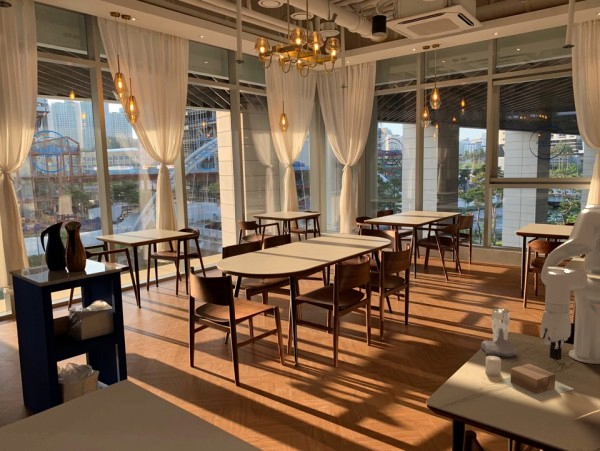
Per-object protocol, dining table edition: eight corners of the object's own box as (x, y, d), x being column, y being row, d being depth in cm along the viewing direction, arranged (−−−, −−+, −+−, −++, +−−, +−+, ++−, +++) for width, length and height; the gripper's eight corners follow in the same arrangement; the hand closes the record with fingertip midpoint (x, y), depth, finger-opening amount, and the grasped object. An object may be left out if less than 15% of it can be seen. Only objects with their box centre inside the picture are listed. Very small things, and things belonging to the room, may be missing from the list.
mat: (531, 372, 171) (531, 371, 171) (574, 389, 156) (574, 388, 156) (498, 381, 164) (498, 380, 163) (539, 401, 149) (539, 400, 149)
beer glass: (495, 341, 202) (496, 307, 200) (511, 345, 197) (513, 310, 195) (487, 345, 198) (488, 310, 196) (503, 349, 192) (504, 314, 191)
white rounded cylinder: (492, 370, 173) (492, 354, 172) (503, 375, 168) (504, 359, 167) (482, 373, 170) (482, 357, 170) (493, 378, 166) (493, 362, 165)
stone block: (518, 361, 185) (509, 347, 195) (519, 350, 184) (510, 337, 193) (487, 361, 186) (479, 348, 196) (487, 351, 185) (480, 337, 194)
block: (529, 363, 165) (510, 368, 161) (555, 374, 156) (536, 379, 152) (528, 377, 166) (510, 382, 162) (554, 388, 157) (536, 394, 153)
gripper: (561, 301, 168) (559, 350, 170) (532, 307, 161) (530, 359, 164) (582, 306, 161) (579, 358, 163) (552, 313, 155) (550, 366, 157)
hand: (555, 358), depth 163 cm, fingers closed
